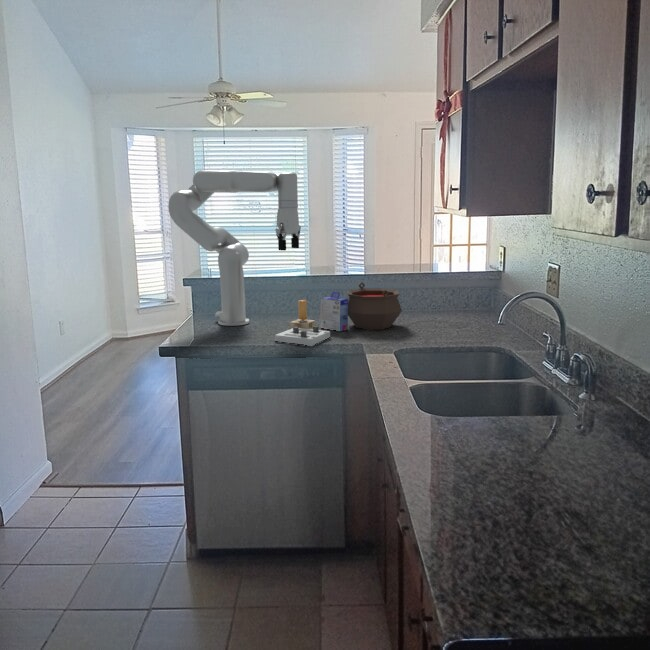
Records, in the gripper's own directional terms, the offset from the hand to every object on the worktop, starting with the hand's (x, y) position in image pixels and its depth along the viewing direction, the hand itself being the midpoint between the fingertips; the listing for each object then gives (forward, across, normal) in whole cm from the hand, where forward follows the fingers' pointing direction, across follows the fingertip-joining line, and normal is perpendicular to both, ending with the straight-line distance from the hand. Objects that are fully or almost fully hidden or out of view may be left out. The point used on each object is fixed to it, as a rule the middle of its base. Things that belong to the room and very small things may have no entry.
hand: (288, 249), depth 258 cm
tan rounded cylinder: (+30, +9, +11) cm, 34 cm away
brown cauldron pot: (+31, -12, +31) cm, 45 cm away
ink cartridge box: (+31, 0, +20) cm, 37 cm away
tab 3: (+29, +17, +21) cm, 39 cm away
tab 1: (+29, +21, +15) cm, 39 cm away
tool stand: (+30, +9, +11) cm, 33 cm away
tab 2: (+29, +25, +21) cm, 44 cm away
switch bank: (+30, +21, +18) cm, 41 cm away
